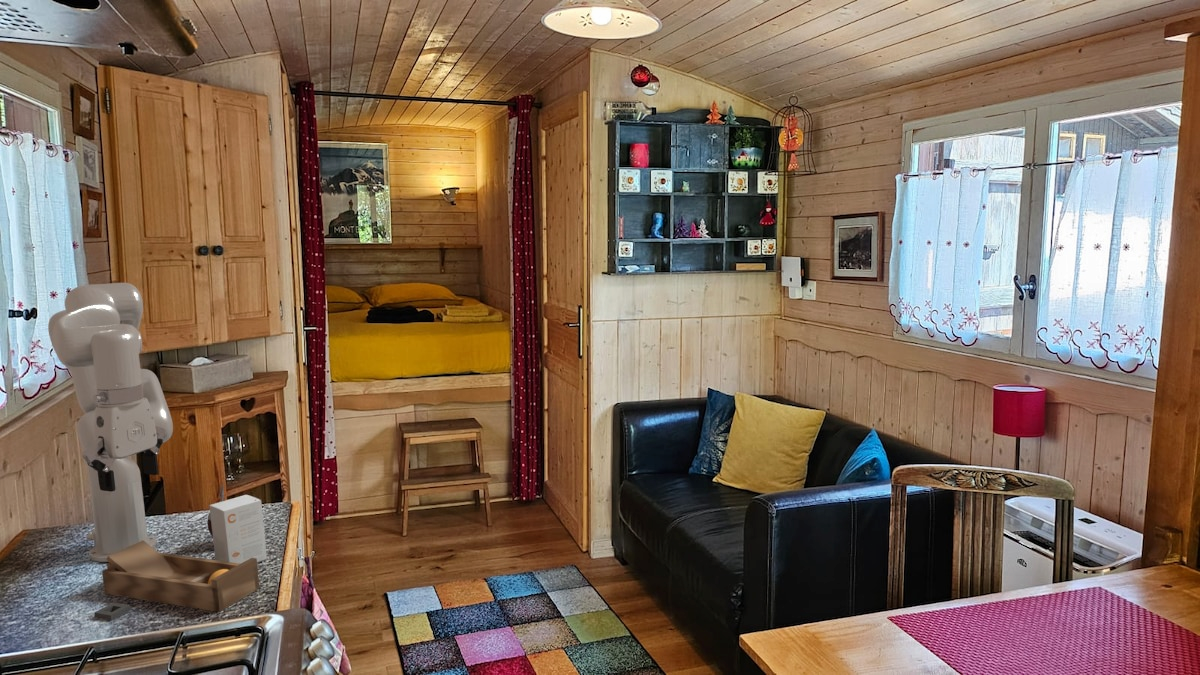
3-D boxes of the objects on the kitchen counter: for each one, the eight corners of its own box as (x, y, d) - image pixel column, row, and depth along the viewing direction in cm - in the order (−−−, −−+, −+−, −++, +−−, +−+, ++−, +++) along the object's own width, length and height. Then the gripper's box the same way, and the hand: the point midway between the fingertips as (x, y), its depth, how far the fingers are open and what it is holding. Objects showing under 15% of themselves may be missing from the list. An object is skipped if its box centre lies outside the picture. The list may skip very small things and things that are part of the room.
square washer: (94, 617, 147) (94, 612, 147) (114, 607, 151) (113, 602, 151) (111, 620, 146) (110, 615, 146) (131, 610, 150) (130, 605, 149)
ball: (197, 585, 152) (213, 606, 152) (211, 570, 150) (227, 592, 150) (217, 574, 157) (233, 594, 156) (231, 559, 155) (247, 580, 155)
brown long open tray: (104, 593, 157) (100, 557, 156) (148, 571, 166) (144, 538, 165) (219, 612, 148) (215, 574, 147) (259, 588, 157) (256, 552, 156)
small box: (252, 552, 175) (247, 493, 173) (267, 559, 171) (262, 499, 169) (214, 565, 169) (208, 504, 167) (229, 573, 165) (223, 510, 163)
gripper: (93, 407, 146) (104, 499, 148) (173, 386, 162) (181, 470, 165) (62, 404, 148) (74, 495, 151) (143, 384, 164) (152, 466, 167)
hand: (130, 482), depth 158 cm, fingers open, 9 cm apart
